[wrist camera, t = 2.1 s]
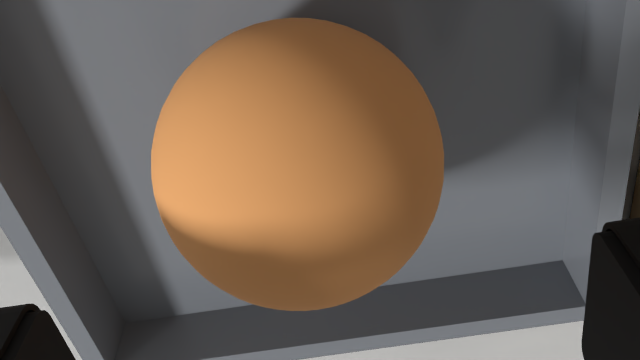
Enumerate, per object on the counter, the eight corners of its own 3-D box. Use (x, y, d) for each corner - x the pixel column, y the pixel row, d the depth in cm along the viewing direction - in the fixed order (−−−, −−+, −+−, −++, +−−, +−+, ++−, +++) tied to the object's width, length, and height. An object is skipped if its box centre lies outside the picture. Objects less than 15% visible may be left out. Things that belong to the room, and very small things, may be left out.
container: (-159, -196, 12) (-253, -184, 10) (638, -362, 11) (718, -388, 9) (118, 323, 21) (99, 386, 19) (573, 258, 20) (606, 317, 18)
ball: (142, 2, 14) (58, 144, 9) (407, -45, 13) (473, 76, 8) (213, 208, 17) (181, 392, 12) (425, 176, 17) (479, 352, 12)
